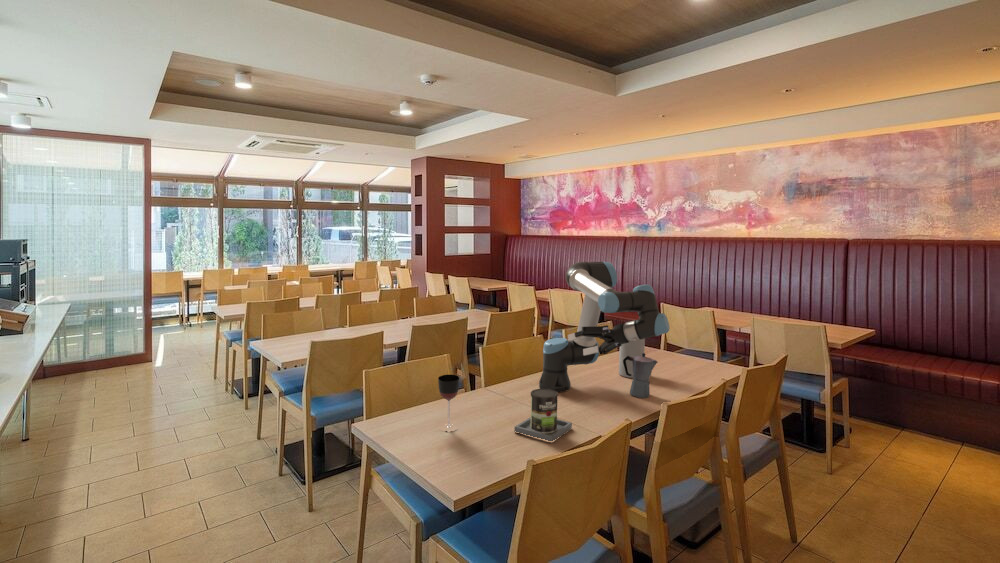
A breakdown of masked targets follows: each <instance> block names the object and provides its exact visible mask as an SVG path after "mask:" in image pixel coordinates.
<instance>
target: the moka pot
mask: <svg viewBox="0 0 1000 563" xmlns="http://www.w3.org/2000/svg"><path fill="white" fill-rule="evenodd" d="M626 360H630V361H633V374H634V375H633V378H632V381H631V386H630V390H629V394H630V395H631V396H632V397H636V398H641V399H646V398H650V396H651V395H650V394H651V393H650V377H651V376H652V372H653V370H654V368H655V366H656V365H657V364H658V362H659V361H657V360H656V359H653V358H652V357H649V356H646V353H645V352H644V353H642V356H636V357H630V356H627V357H626V358H625V359H624V360H623V364H624V367H625V372H626V375H628V376H631V375H632V374H629V373H628V370H627V365H626Z"/></svg>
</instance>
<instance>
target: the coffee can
mask: <svg viewBox="0 0 1000 563" xmlns="http://www.w3.org/2000/svg"><path fill="white" fill-rule="evenodd" d="M558 396H559V392H556V391H554V390H550V389H541V388H536V389H533V390H531V391H530V417H531V423H530V429H531V430H533V431H537V432H540V433H544V434H550V433H553V432H555V431H556V430H557V419H558Z"/></svg>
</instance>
